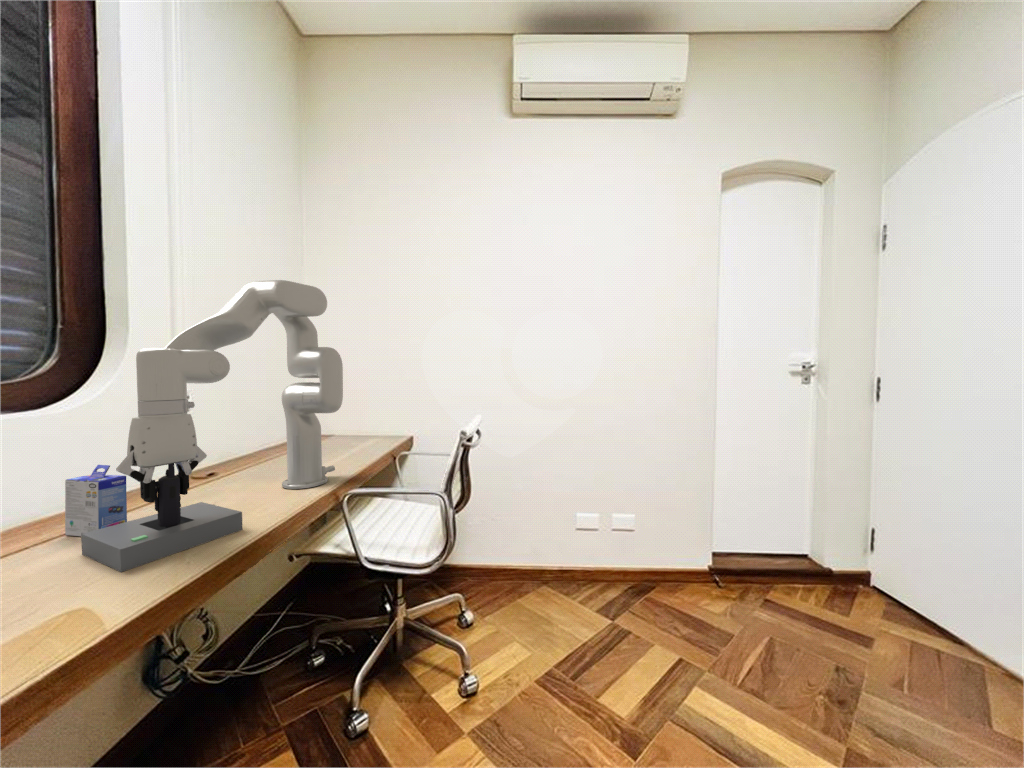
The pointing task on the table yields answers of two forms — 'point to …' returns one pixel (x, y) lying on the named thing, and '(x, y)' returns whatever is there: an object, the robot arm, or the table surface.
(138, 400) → the robot arm
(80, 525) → the ink cartridge box
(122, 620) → the table surface
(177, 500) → the two-way radio
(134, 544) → the charging cradle
